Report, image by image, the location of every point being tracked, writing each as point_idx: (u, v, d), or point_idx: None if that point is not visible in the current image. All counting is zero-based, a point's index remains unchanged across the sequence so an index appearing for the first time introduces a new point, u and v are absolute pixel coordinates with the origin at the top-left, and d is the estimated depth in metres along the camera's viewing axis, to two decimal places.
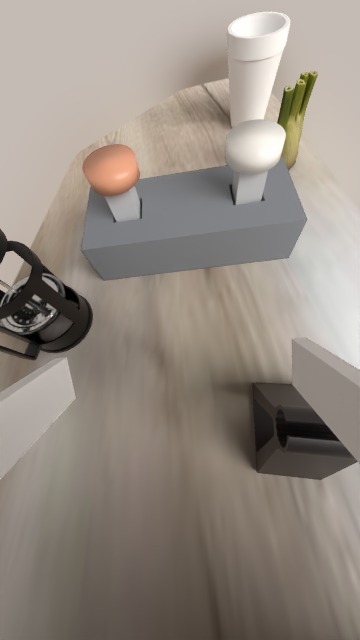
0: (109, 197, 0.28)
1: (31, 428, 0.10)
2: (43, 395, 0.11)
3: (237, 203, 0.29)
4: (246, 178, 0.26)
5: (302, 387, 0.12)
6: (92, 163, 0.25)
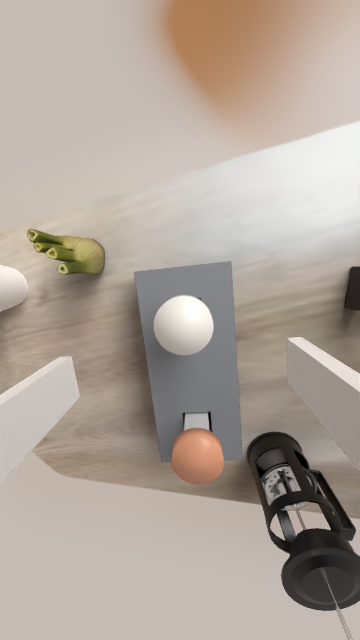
0: None
1: (37, 425, 0.10)
2: (48, 393, 0.11)
3: None
4: None
5: (297, 386, 0.12)
6: (198, 475, 0.26)
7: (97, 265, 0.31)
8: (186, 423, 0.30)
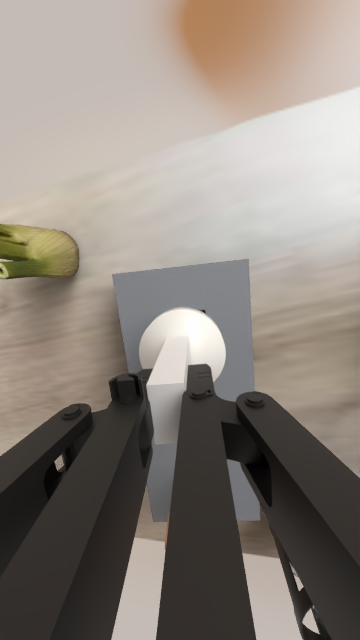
0: None
1: None
2: None
3: None
4: None
5: None
6: None
7: (65, 265, 0.23)
8: None
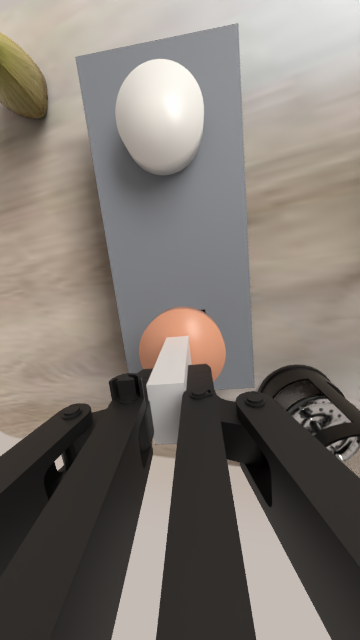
0: None
1: None
2: None
3: None
4: None
5: None
6: None
7: (26, 78, 0.20)
8: None
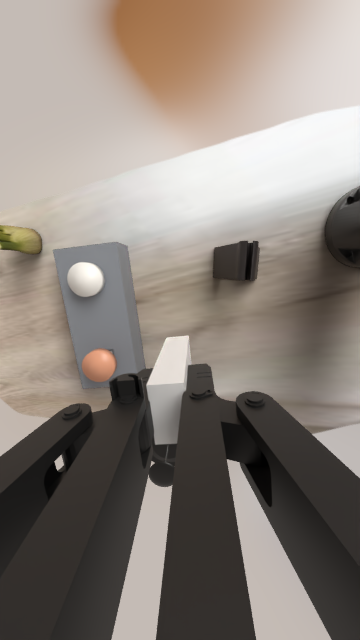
0: None
1: None
2: None
3: None
4: None
5: None
6: (99, 376, 0.43)
7: (31, 246, 0.45)
8: None
